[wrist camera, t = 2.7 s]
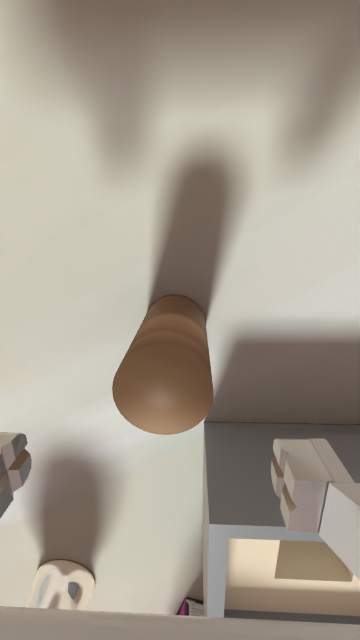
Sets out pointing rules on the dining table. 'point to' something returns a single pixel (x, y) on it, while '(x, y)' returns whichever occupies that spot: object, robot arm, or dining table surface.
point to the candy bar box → (192, 608)
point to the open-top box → (269, 531)
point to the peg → (166, 369)
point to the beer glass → (61, 586)
